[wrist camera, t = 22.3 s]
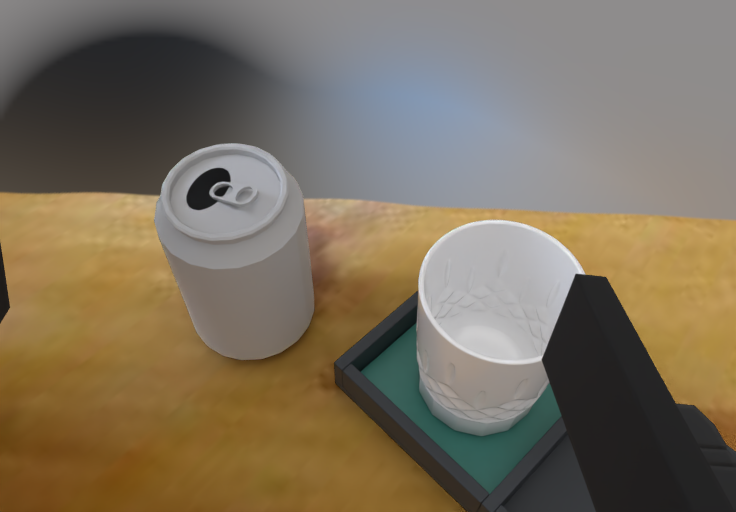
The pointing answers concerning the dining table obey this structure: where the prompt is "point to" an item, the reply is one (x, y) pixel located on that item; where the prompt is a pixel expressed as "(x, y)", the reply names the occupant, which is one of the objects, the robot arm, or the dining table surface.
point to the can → (238, 249)
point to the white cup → (488, 322)
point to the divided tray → (457, 449)
